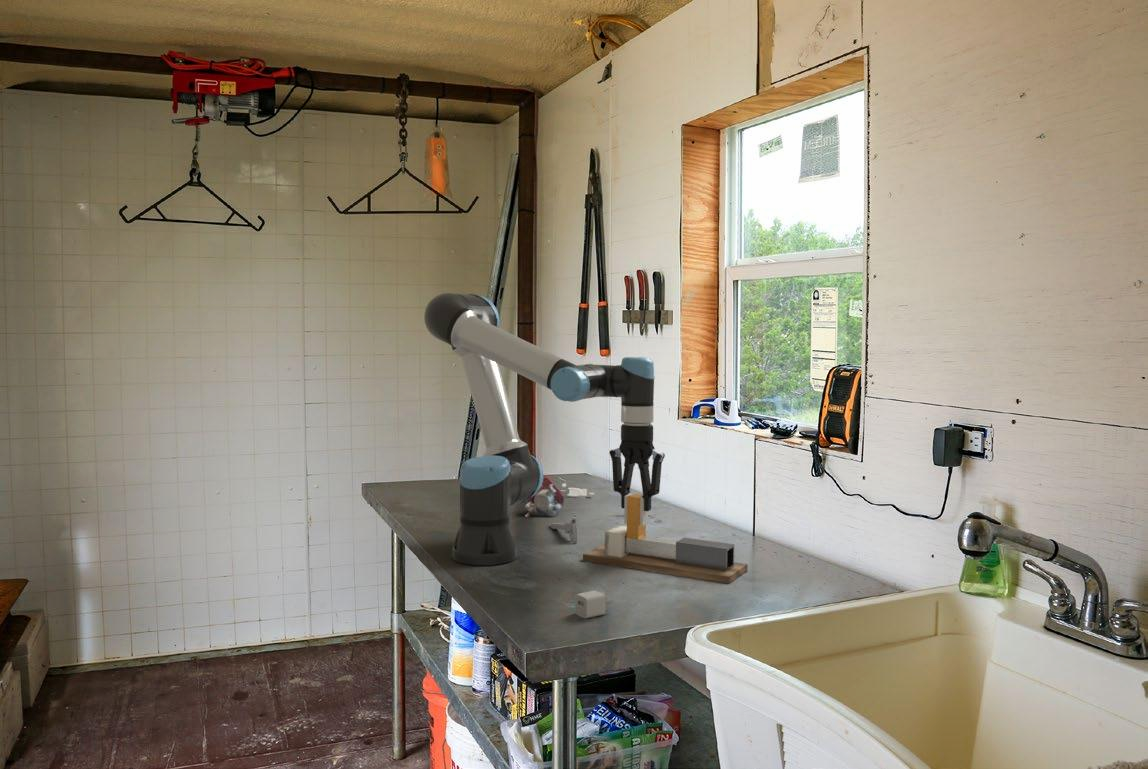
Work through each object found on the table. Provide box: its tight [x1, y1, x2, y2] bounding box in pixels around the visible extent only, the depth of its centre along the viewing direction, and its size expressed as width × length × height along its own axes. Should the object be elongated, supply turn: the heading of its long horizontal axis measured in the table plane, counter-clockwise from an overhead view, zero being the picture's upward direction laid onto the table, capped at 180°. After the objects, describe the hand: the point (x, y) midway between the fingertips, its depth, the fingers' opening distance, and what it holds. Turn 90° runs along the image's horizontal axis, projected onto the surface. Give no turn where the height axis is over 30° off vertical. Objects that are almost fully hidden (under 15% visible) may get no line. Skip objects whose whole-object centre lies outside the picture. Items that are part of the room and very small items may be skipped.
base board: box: [582, 543, 749, 584], centre depth 206 cm, size 12×36×2 cm, turn 60°
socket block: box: [604, 525, 629, 557], centre depth 212 cm, size 8×4×6 cm, turn 150°
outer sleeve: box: [676, 537, 735, 571], centre depth 201 cm, size 5×12×5 cm, turn 60°
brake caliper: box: [524, 476, 566, 518], centre depth 260 cm, size 11×11×12 cm
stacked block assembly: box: [625, 493, 678, 559], centre depth 206 cm, size 4×22×13 cm, turn 60°
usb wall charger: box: [574, 590, 614, 619], centre depth 172 cm, size 4×7×4 cm, turn 125°
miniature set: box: [557, 482, 595, 497], centre depth 293 cm, size 6×35×12 cm
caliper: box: [549, 518, 578, 544], centre depth 236 cm, size 20×1×6 cm, turn 19°
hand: (635, 523), depth 209 cm, fingers open, 3 cm apart
